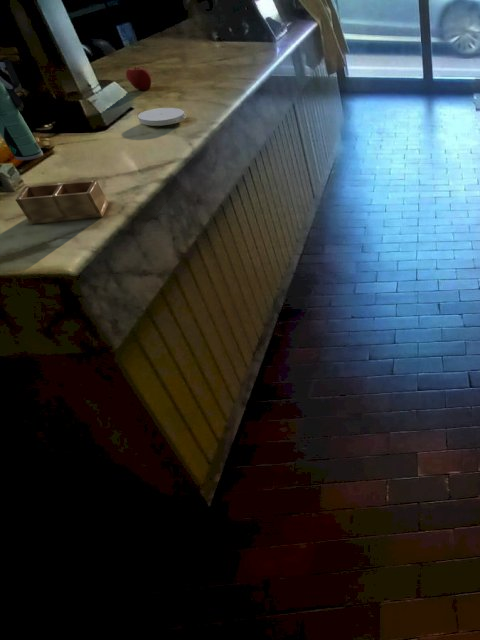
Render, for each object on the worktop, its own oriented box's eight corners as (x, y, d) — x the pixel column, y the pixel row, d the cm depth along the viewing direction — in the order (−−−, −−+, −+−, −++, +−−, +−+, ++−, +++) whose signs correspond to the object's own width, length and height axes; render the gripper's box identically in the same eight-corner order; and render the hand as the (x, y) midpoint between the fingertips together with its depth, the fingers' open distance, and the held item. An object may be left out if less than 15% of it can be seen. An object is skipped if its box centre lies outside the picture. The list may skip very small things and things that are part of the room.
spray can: (38, 149, 124) (-18, 54, 110) (47, 156, 122) (-9, 59, 108) (11, 155, 121) (-50, 58, 107) (20, 162, 119) (-41, 63, 105)
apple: (129, 88, 200) (120, 65, 195) (151, 85, 204) (142, 62, 199) (136, 93, 196) (126, 69, 191) (158, 89, 201) (149, 67, 195)
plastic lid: (168, 130, 169) (165, 122, 167) (131, 126, 171) (127, 118, 169) (196, 118, 179) (193, 110, 177) (160, 113, 181) (157, 106, 179)
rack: (31, 224, 121) (14, 199, 117) (40, 209, 127) (25, 186, 122) (102, 216, 125) (89, 193, 121) (108, 203, 131) (96, 180, 126)
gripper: (-100, 29, 103) (-42, 107, 106) (-13, 21, 112) (39, 95, 114) (-86, 54, 110) (-32, 128, 112) (-4, 45, 118) (45, 114, 121)
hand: (4, 111), depth 113 cm, fingers closed on spray can, 5 cm apart
